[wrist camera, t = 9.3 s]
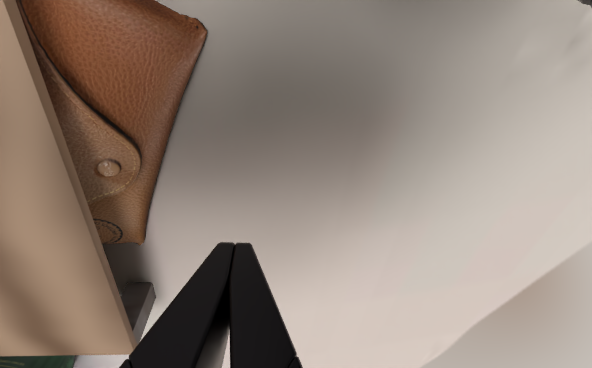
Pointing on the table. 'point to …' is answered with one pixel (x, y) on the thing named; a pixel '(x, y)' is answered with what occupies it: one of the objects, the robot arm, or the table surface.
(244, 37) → the table surface
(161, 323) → the robot arm
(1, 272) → the brown box
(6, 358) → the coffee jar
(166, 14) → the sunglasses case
